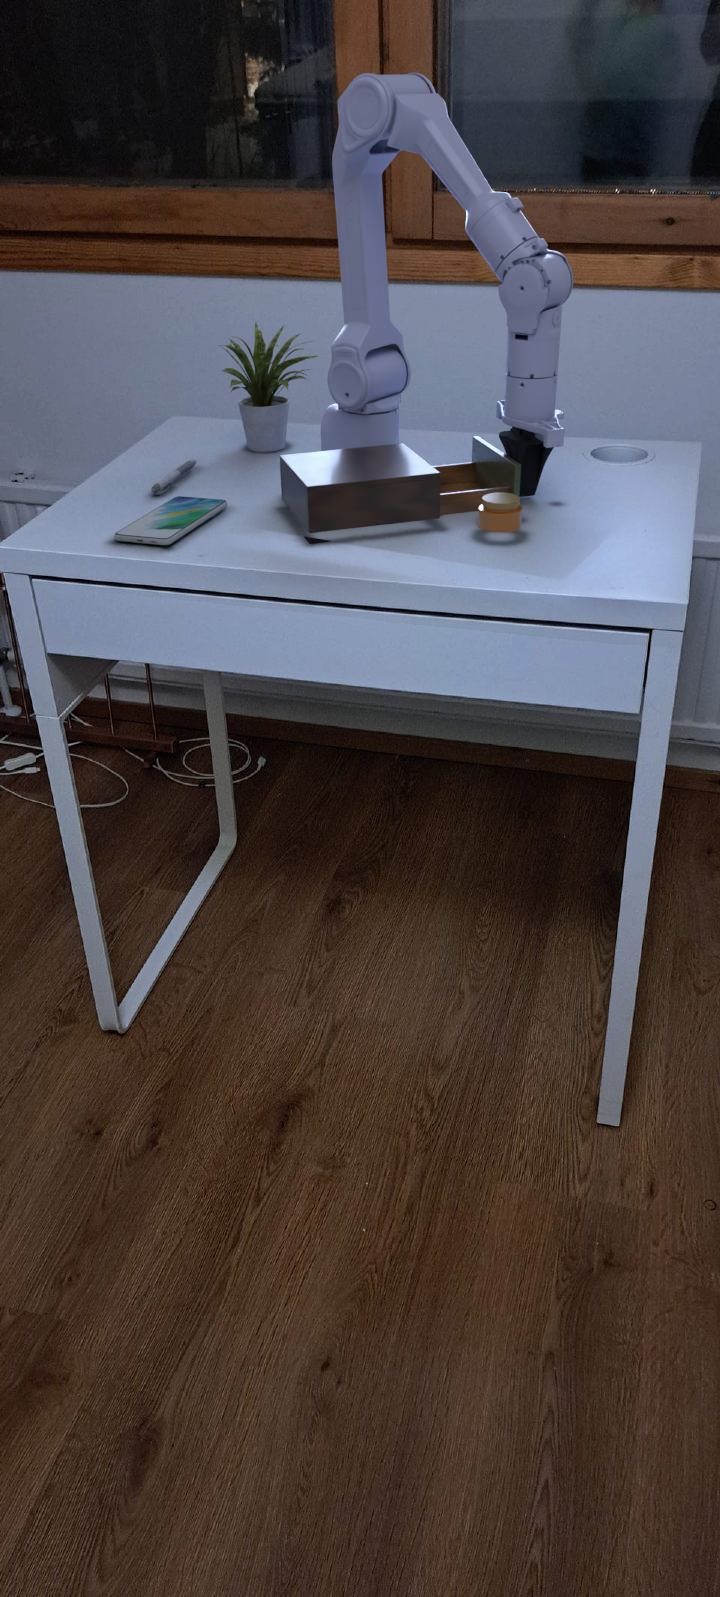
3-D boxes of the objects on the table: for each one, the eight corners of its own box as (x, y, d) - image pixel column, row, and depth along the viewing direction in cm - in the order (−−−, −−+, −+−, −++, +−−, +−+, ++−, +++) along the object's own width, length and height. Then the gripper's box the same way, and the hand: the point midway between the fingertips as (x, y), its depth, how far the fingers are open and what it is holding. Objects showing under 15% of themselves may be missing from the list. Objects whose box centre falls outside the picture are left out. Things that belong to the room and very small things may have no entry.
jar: (470, 539, 128) (471, 501, 125) (487, 526, 131) (489, 489, 129) (511, 545, 126) (513, 507, 123) (527, 532, 129) (529, 494, 127)
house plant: (273, 469, 153) (266, 338, 144) (192, 454, 159) (181, 328, 151) (334, 444, 163) (330, 320, 154) (256, 431, 169) (248, 312, 161)
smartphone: (111, 534, 129) (176, 495, 140) (112, 542, 129) (177, 502, 141) (168, 540, 126) (229, 499, 138) (169, 547, 127) (230, 506, 139)
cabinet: (403, 495, 142) (403, 443, 138) (439, 529, 131) (440, 472, 127) (282, 509, 138) (279, 455, 135) (309, 544, 127) (307, 486, 124)
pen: (149, 498, 143) (147, 486, 142) (192, 466, 154) (191, 456, 153) (156, 498, 143) (155, 487, 142) (199, 467, 154) (198, 456, 153)
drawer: (485, 484, 144) (487, 434, 141) (528, 516, 133) (531, 463, 130) (360, 498, 140) (359, 447, 137) (394, 532, 129) (393, 477, 126)
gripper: (593, 384, 123) (583, 509, 131) (538, 358, 135) (531, 474, 142) (532, 389, 122) (525, 515, 129) (481, 363, 134) (477, 480, 141)
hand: (524, 494), depth 136 cm, fingers closed, pressing on drawer
